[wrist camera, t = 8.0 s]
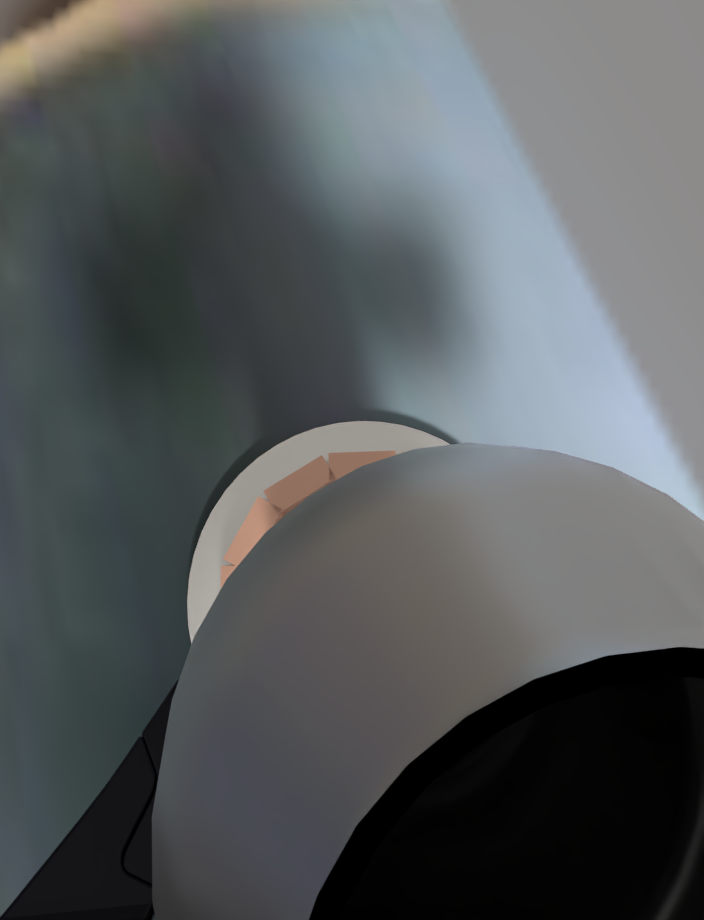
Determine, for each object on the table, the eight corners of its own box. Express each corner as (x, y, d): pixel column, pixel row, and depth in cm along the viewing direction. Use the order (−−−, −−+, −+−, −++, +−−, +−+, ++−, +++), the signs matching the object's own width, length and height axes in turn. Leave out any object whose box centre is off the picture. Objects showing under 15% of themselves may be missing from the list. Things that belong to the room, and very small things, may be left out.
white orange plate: (446, 850, 20) (460, 887, 18) (124, 671, 21) (100, 685, 19) (584, 517, 23) (611, 514, 21) (297, 371, 24) (293, 353, 22)
